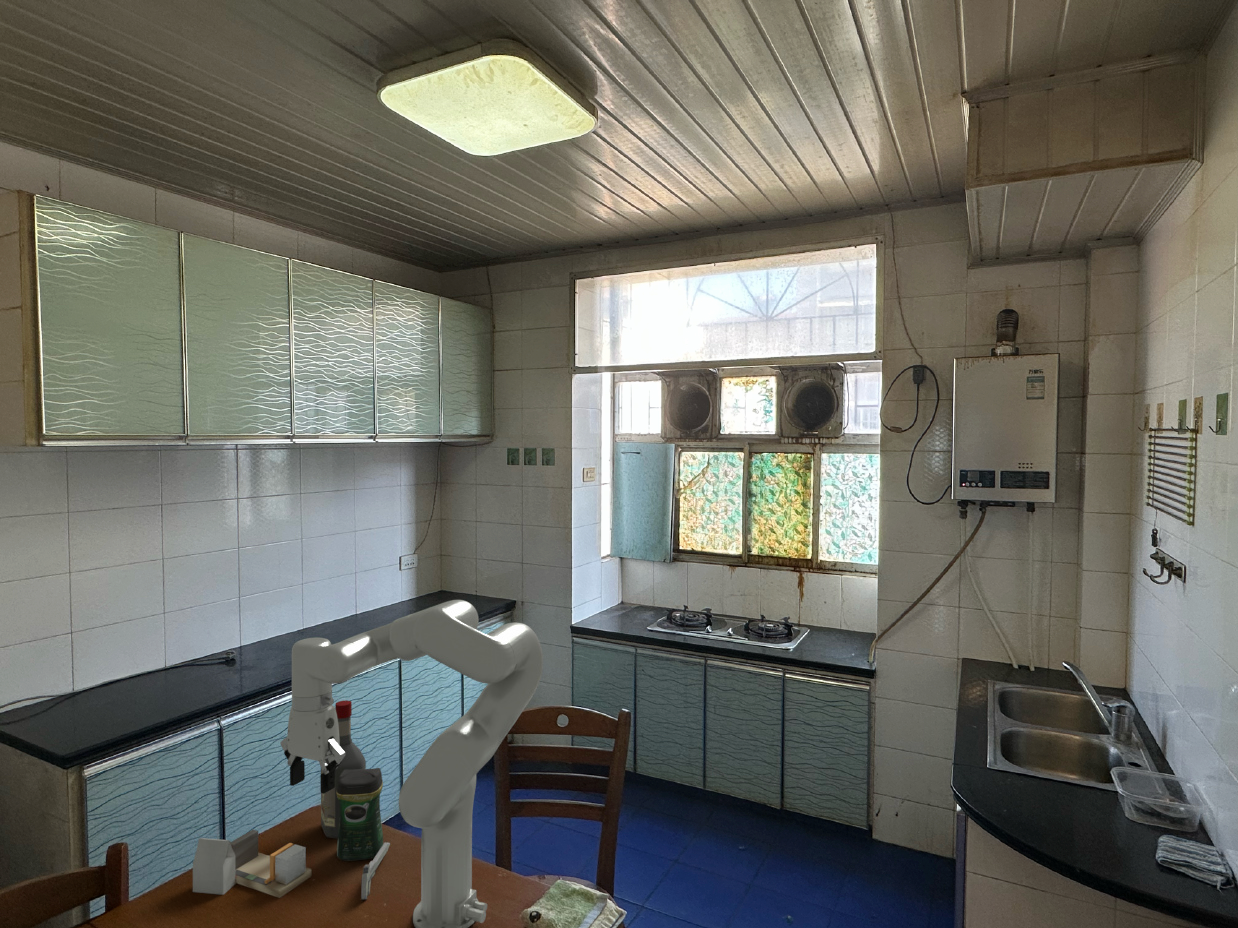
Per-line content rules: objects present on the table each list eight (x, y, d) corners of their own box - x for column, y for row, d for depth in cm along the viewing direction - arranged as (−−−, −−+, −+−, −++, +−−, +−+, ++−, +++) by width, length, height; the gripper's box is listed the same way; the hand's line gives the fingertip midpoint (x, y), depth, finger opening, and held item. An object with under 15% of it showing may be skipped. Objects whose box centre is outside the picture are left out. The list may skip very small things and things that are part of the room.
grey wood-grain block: (305, 870, 148) (305, 847, 148) (286, 884, 143) (286, 859, 143) (295, 867, 149) (295, 844, 149) (275, 880, 144) (275, 856, 144)
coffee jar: (386, 841, 162) (386, 761, 162) (378, 861, 155) (378, 777, 154) (342, 843, 161) (342, 763, 161) (332, 863, 154) (332, 779, 153)
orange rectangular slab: (293, 866, 149) (293, 843, 149) (267, 884, 143) (267, 859, 143) (289, 865, 149) (289, 842, 149) (263, 882, 143) (263, 858, 143)
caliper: (366, 901, 141) (366, 870, 141) (361, 902, 141) (361, 870, 141) (390, 845, 161) (390, 818, 161) (385, 845, 161) (385, 818, 161)
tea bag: (223, 894, 143) (223, 845, 143) (192, 891, 144) (192, 843, 143) (235, 883, 146) (235, 835, 146) (205, 880, 147) (205, 833, 147)
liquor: (359, 814, 175) (359, 693, 174) (367, 830, 167) (367, 705, 166) (319, 824, 170) (319, 700, 169) (326, 841, 162) (326, 712, 162)
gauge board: (311, 875, 149) (311, 843, 149) (279, 897, 142) (279, 863, 142) (256, 858, 155) (256, 827, 155) (224, 878, 148) (224, 845, 148)
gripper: (358, 700, 143) (359, 786, 143) (295, 689, 150) (295, 771, 150) (330, 713, 136) (330, 803, 136) (265, 700, 143) (265, 786, 143)
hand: (312, 785), depth 143 cm, fingers open, 7 cm apart
